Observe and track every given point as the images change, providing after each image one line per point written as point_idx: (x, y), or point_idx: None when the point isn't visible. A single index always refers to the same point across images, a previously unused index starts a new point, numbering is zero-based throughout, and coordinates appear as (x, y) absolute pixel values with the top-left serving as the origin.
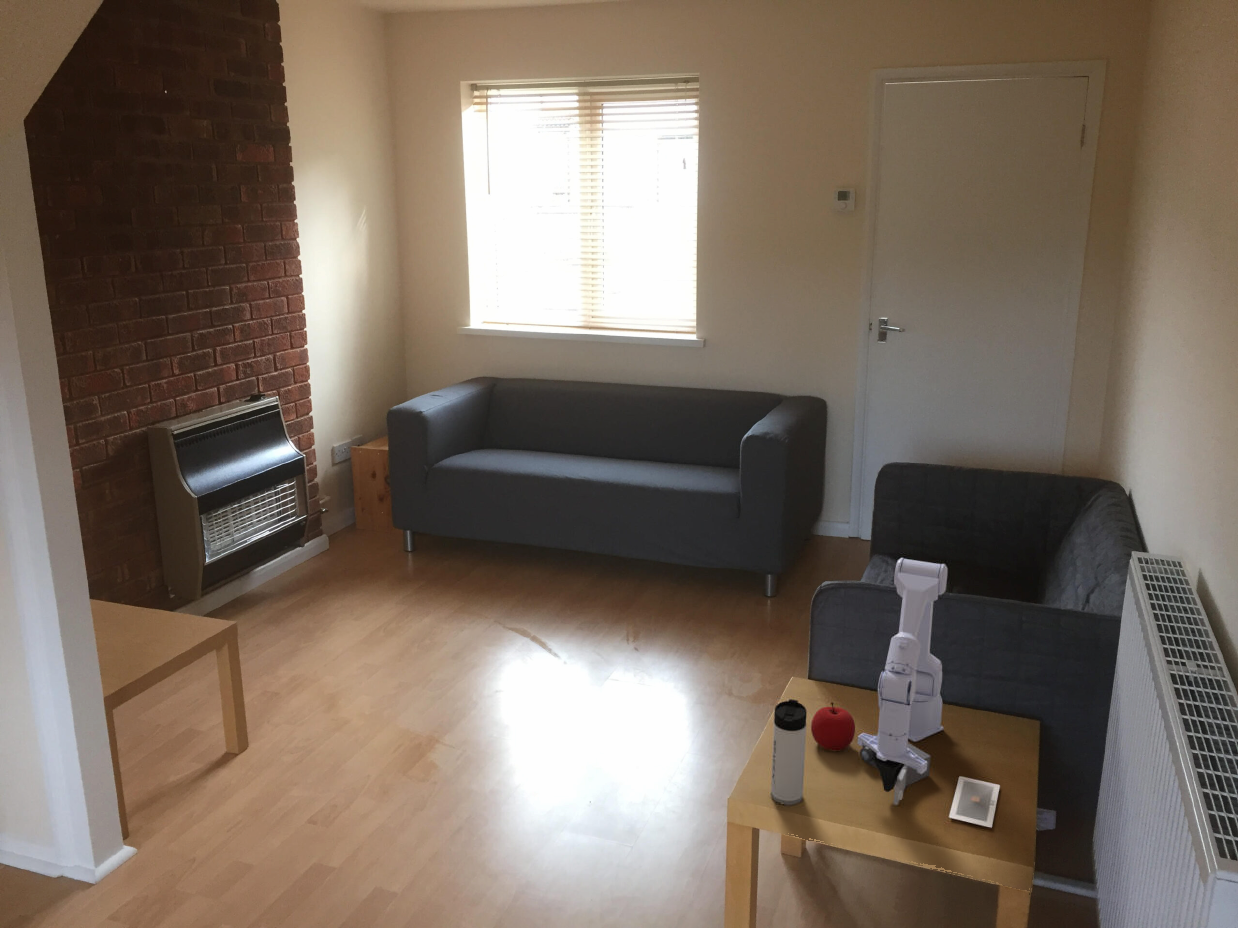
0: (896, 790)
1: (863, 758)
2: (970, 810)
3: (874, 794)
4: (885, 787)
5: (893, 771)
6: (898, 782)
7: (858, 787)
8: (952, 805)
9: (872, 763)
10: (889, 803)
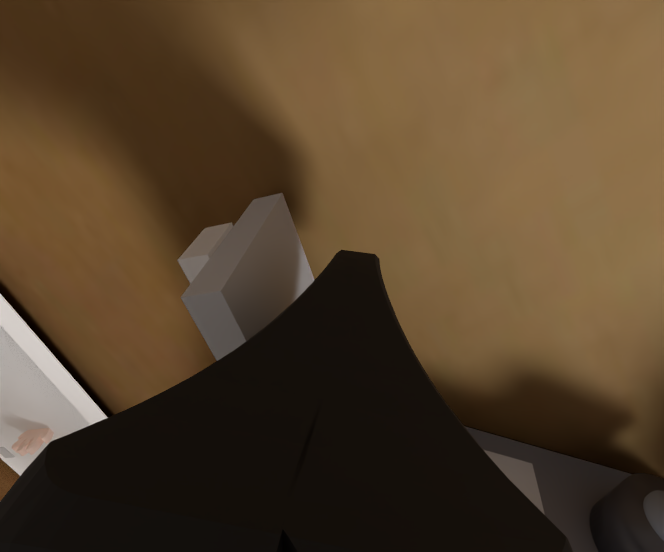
0: (221, 261)
1: None
2: None
3: (467, 228)
4: (353, 265)
5: (61, 437)
6: (232, 350)
7: (620, 236)
8: (59, 363)
9: (593, 475)
10: (323, 195)
